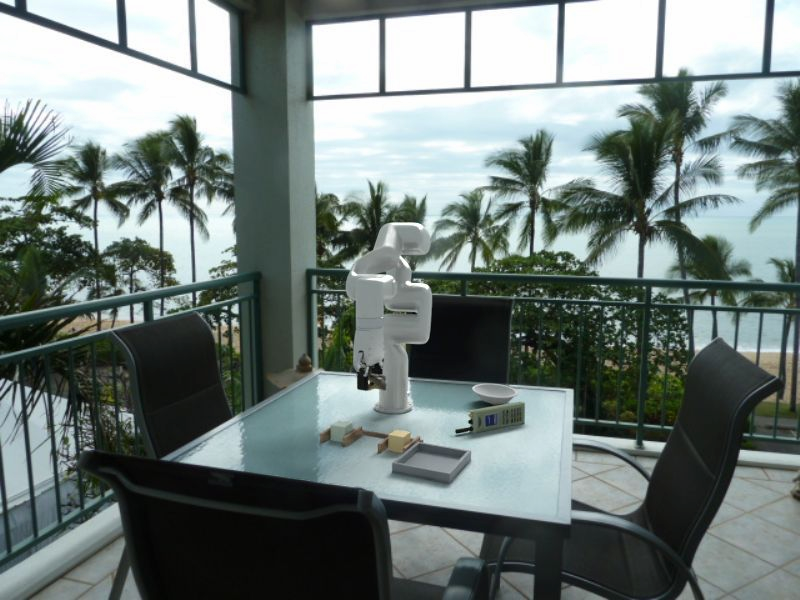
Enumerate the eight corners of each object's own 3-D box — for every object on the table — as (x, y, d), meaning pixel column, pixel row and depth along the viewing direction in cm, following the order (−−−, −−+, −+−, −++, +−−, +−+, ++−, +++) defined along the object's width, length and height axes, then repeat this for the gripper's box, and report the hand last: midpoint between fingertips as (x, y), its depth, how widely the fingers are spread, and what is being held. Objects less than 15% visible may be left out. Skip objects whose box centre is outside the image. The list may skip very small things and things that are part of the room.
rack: (341, 429, 176) (341, 420, 176) (423, 442, 165) (423, 434, 165) (320, 442, 165) (319, 433, 165) (405, 457, 155) (405, 448, 154)
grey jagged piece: (366, 398, 158) (366, 375, 156) (353, 388, 163) (353, 366, 161) (390, 390, 163) (391, 368, 161) (377, 381, 168) (378, 359, 166)
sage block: (338, 435, 171) (338, 420, 171) (352, 437, 169) (352, 422, 169) (330, 440, 167) (330, 425, 167) (344, 442, 165) (344, 427, 165)
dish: (526, 409, 196) (527, 394, 196) (488, 414, 191) (489, 399, 190) (499, 395, 212) (499, 381, 212) (463, 399, 207) (463, 385, 207)
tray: (417, 450, 160) (417, 441, 159) (470, 459, 153) (471, 450, 153) (392, 472, 145) (392, 462, 145) (449, 484, 139) (449, 473, 139)
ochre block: (395, 445, 164) (395, 429, 163) (410, 447, 162) (410, 432, 161) (388, 450, 160) (388, 434, 159) (403, 453, 158) (403, 437, 157)
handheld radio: (526, 424, 182) (459, 437, 170) (519, 421, 185) (453, 434, 173) (526, 402, 182) (459, 414, 170) (519, 400, 185) (452, 412, 172)
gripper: (372, 317, 170) (372, 376, 172) (341, 327, 154) (342, 392, 157) (396, 319, 167) (395, 379, 169) (367, 329, 151) (367, 396, 153)
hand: (370, 385), depth 163 cm, fingers closed on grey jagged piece, 7 cm apart
